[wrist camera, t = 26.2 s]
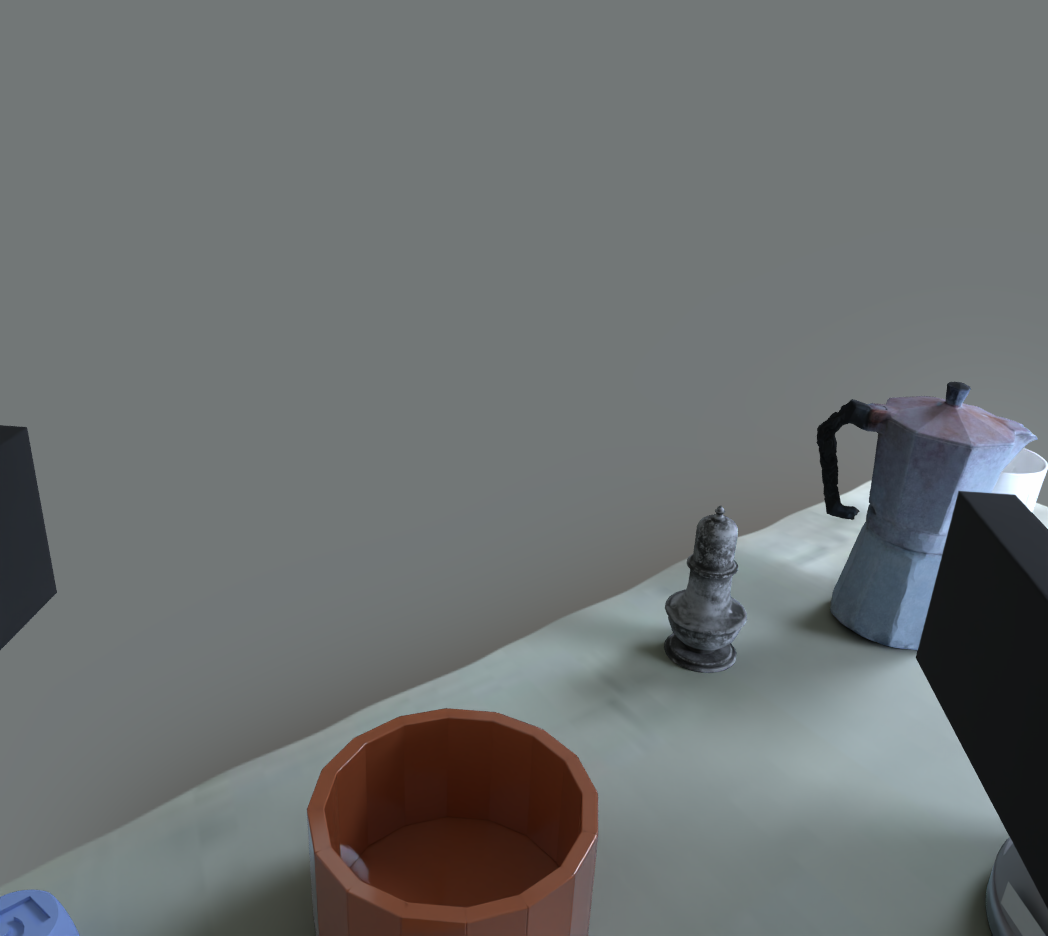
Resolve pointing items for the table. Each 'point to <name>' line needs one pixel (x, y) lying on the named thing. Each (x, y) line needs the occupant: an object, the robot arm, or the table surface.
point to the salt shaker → (707, 601)
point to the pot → (453, 831)
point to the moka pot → (910, 502)
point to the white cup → (1023, 477)
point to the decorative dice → (34, 915)
